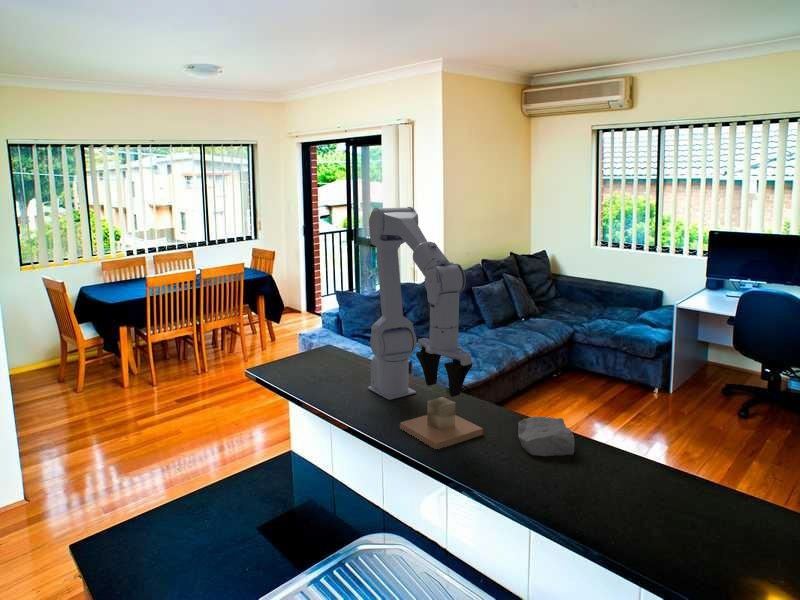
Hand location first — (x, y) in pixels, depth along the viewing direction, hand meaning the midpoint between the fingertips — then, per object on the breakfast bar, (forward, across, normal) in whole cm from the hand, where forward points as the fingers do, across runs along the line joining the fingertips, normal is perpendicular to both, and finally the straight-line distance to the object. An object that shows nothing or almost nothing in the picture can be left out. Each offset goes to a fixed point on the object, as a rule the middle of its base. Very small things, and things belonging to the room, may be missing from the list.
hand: (442, 389), depth 122 cm
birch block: (+7, +1, -1) cm, 7 cm away
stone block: (+9, +16, +12) cm, 22 cm away
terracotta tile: (+9, +1, -1) cm, 9 cm away
